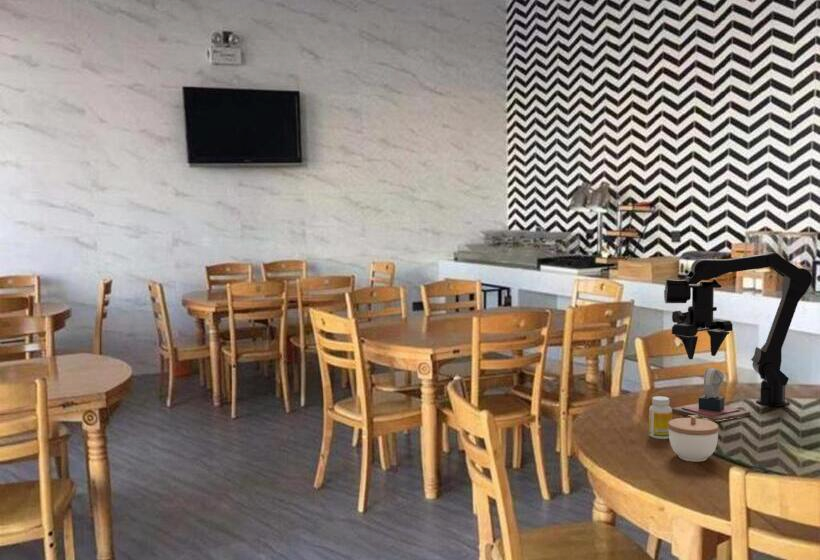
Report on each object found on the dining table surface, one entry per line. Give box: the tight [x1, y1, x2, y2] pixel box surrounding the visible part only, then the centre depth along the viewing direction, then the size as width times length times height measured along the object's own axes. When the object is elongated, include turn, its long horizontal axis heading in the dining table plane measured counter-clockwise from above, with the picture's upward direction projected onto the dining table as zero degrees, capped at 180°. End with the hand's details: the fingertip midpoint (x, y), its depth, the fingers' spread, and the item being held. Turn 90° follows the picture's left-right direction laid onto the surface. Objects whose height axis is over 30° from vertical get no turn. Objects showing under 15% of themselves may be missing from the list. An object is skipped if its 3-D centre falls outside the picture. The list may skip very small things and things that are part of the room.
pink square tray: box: [671, 402, 751, 421], centre depth 214 cm, size 14×14×1 cm
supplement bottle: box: [648, 395, 673, 440], centre depth 194 cm, size 5×5×10 cm
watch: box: [698, 367, 725, 412], centre depth 214 cm, size 6×8×11 cm
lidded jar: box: [668, 416, 720, 463], centre depth 177 cm, size 11×11×9 cm
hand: (702, 357), depth 226 cm, fingers open, 9 cm apart
